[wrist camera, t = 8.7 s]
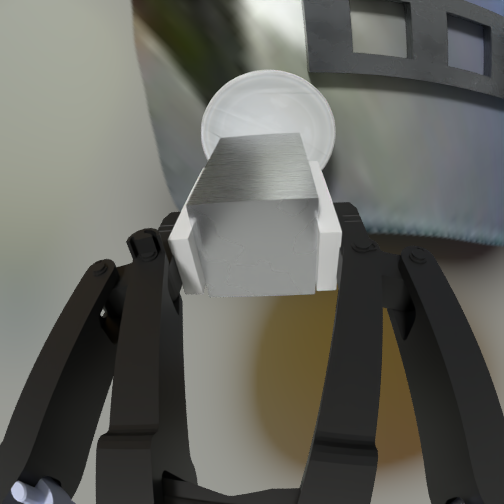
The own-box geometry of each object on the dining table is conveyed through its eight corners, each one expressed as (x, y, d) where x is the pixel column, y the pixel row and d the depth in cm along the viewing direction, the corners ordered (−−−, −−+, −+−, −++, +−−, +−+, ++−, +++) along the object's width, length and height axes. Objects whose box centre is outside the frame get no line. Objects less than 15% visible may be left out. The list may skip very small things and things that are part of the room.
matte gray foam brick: (299, 132, 16) (318, 198, 10) (301, 201, 19) (314, 294, 13) (220, 137, 17) (185, 205, 10) (230, 204, 19) (209, 296, 13)
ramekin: (214, 172, 31) (204, 195, 27) (209, 68, 24) (195, 72, 20) (321, 175, 31) (329, 199, 27) (329, 70, 24) (341, 75, 20)
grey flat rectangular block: (506, 21, 15) (514, 22, 14) (506, 98, 21) (513, 102, 20) (298, -24, 18) (299, -28, 17) (307, 71, 24) (309, 72, 23)
